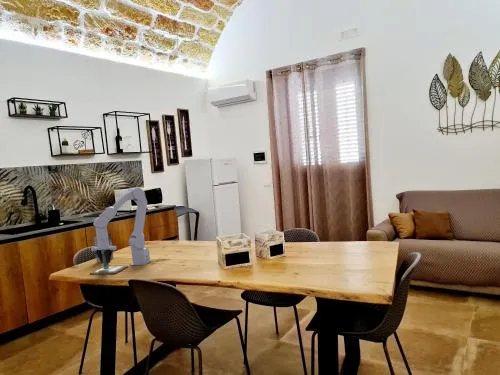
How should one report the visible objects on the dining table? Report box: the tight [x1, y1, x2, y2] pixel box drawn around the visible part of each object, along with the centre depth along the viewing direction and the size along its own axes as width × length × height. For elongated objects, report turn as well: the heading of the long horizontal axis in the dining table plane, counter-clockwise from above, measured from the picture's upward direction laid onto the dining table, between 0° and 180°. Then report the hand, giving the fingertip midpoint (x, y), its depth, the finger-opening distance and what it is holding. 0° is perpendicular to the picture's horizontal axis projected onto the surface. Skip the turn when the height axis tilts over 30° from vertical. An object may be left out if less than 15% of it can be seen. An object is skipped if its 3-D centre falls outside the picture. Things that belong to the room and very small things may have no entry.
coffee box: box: [93, 232, 114, 263], centre depth 233 cm, size 9×6×16 cm
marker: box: [101, 250, 110, 269], centre depth 204 cm, size 3×3×10 cm
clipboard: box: [89, 265, 129, 275], centre depth 207 cm, size 16×12×2 cm
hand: (105, 263), depth 205 cm, fingers closed on marker, 3 cm apart
